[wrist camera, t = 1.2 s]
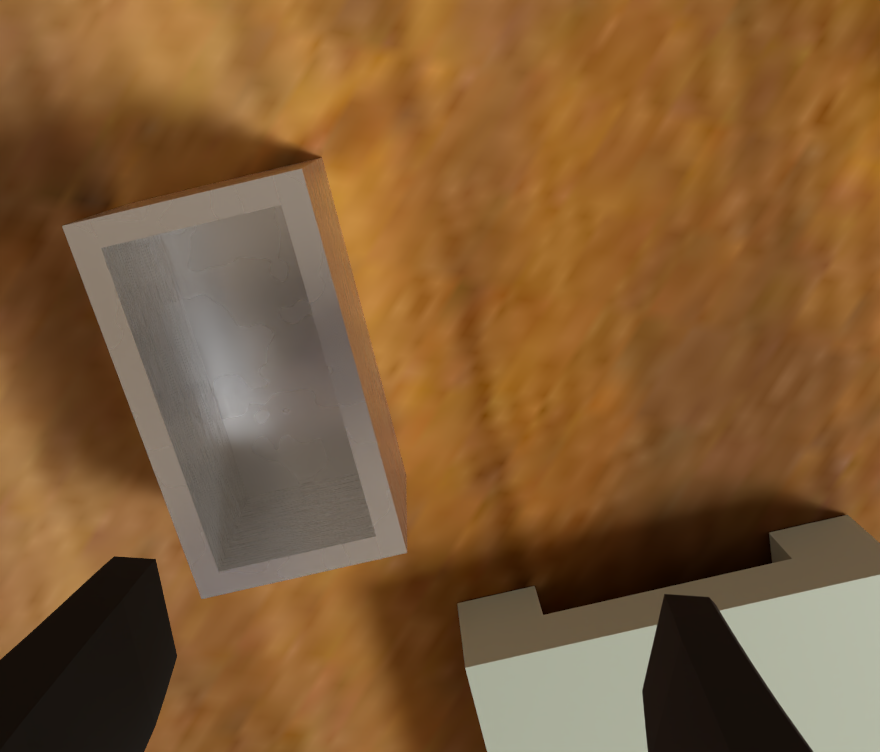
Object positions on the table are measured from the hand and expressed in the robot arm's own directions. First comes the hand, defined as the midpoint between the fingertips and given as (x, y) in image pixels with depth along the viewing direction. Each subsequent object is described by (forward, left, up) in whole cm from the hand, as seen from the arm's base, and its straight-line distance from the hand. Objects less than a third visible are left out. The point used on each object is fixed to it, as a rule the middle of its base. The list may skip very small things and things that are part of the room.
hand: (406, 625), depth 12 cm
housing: (-3, +2, -11) cm, 12 cm away
